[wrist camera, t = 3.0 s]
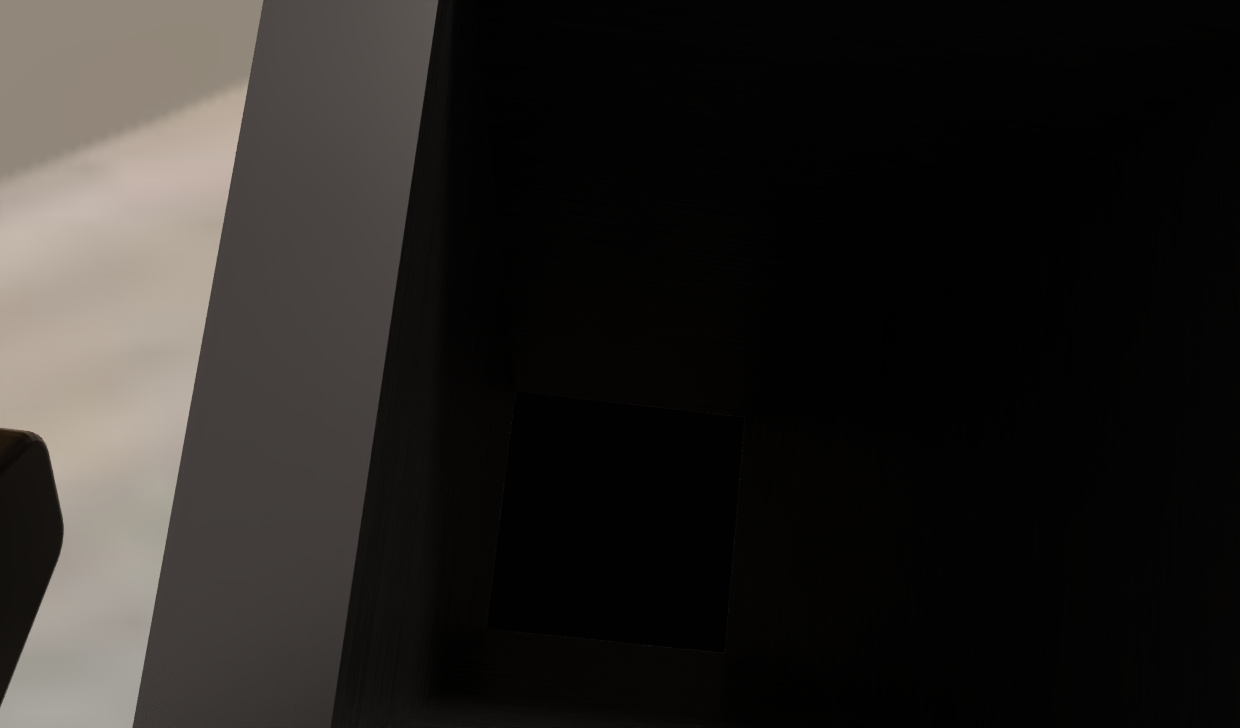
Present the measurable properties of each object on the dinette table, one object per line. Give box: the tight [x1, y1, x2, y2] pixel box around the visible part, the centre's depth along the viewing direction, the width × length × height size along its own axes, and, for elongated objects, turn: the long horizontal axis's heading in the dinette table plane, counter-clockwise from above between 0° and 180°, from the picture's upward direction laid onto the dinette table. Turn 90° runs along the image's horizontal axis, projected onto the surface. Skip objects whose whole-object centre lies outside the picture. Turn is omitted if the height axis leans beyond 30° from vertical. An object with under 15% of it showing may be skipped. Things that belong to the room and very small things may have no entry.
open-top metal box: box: [133, 0, 1240, 728], centre depth 10 cm, size 5×5×12 cm
